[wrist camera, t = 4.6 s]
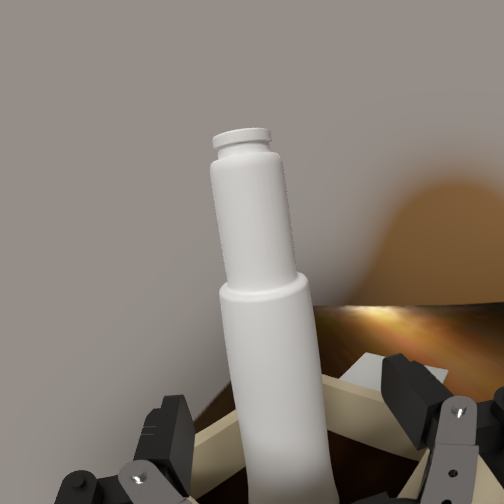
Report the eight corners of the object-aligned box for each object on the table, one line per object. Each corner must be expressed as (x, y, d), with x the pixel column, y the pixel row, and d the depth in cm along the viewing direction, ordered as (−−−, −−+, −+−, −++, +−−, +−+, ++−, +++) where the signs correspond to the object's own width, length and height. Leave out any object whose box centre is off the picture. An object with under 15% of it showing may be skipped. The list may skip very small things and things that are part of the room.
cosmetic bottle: (279, 554, 12) (190, 117, 8) (233, 498, 18) (147, 155, 13) (357, 506, 15) (354, 116, 10) (304, 462, 20) (266, 142, 16)
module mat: (365, 355, 33) (365, 352, 33) (447, 373, 26) (448, 370, 26) (313, 405, 27) (312, 402, 27) (411, 439, 20) (412, 436, 20)
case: (309, 403, 27) (305, 350, 26) (460, 450, 17) (479, 392, 15) (164, 505, 17) (135, 456, 16) (332, 630, 6) (340, 618, 5)
